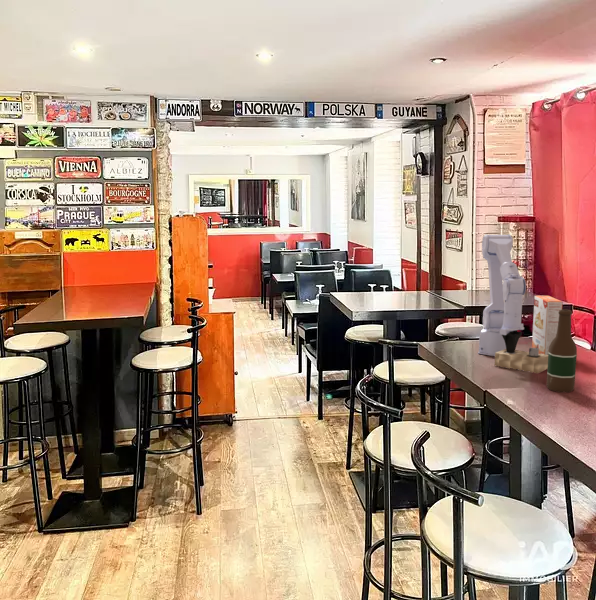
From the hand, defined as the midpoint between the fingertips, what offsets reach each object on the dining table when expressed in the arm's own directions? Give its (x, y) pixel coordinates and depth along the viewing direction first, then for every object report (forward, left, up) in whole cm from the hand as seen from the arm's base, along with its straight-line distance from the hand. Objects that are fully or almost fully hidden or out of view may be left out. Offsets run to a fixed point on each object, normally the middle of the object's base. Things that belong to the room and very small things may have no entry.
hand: (510, 352), depth 223 cm
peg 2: (+8, 0, -2) cm, 8 cm away
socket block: (+4, 0, -4) cm, 6 cm away
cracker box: (+2, +25, -5) cm, 26 cm away
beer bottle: (+23, -18, -5) cm, 30 cm away
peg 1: (0, 0, -4) cm, 4 cm away
